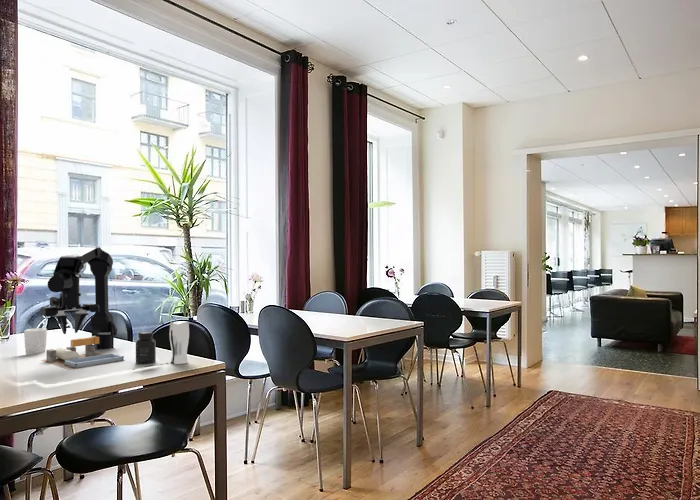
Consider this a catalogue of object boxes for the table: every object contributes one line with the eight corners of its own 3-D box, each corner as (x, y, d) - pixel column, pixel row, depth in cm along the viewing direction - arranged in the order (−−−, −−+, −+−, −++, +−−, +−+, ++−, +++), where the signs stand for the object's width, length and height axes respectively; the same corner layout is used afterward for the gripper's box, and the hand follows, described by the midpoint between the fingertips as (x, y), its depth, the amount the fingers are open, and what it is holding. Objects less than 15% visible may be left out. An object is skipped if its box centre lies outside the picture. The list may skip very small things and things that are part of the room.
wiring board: (95, 354, 211) (95, 342, 211) (125, 363, 196) (125, 349, 196) (40, 362, 195) (40, 349, 195) (68, 372, 180) (68, 357, 180)
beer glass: (172, 361, 199) (172, 321, 199) (190, 360, 200) (191, 321, 200) (167, 365, 192) (167, 323, 192) (186, 364, 193) (186, 323, 193)
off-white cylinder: (52, 358, 197) (55, 347, 198) (63, 358, 200) (66, 348, 201) (66, 362, 190) (68, 351, 190) (77, 362, 193) (80, 351, 193)
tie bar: (95, 342, 208) (95, 336, 208) (99, 343, 206) (99, 337, 206) (69, 346, 201) (69, 339, 201) (73, 347, 199) (73, 340, 199)
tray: (111, 357, 201) (111, 353, 201) (123, 360, 196) (123, 356, 196) (64, 364, 188) (64, 360, 188) (75, 368, 182) (75, 363, 182)
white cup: (36, 356, 207) (36, 331, 207) (19, 356, 208) (19, 330, 208) (51, 353, 214) (51, 328, 214) (34, 352, 216) (34, 327, 216)
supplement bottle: (159, 363, 194) (159, 331, 194) (146, 367, 188) (147, 334, 188) (144, 362, 196) (144, 330, 197) (131, 366, 190) (131, 333, 190)
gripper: (86, 288, 204) (86, 328, 204) (33, 290, 190) (33, 334, 190) (100, 289, 197) (100, 331, 197) (46, 292, 183) (46, 337, 183)
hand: (70, 333), depth 192 cm, fingers open, 4 cm apart
